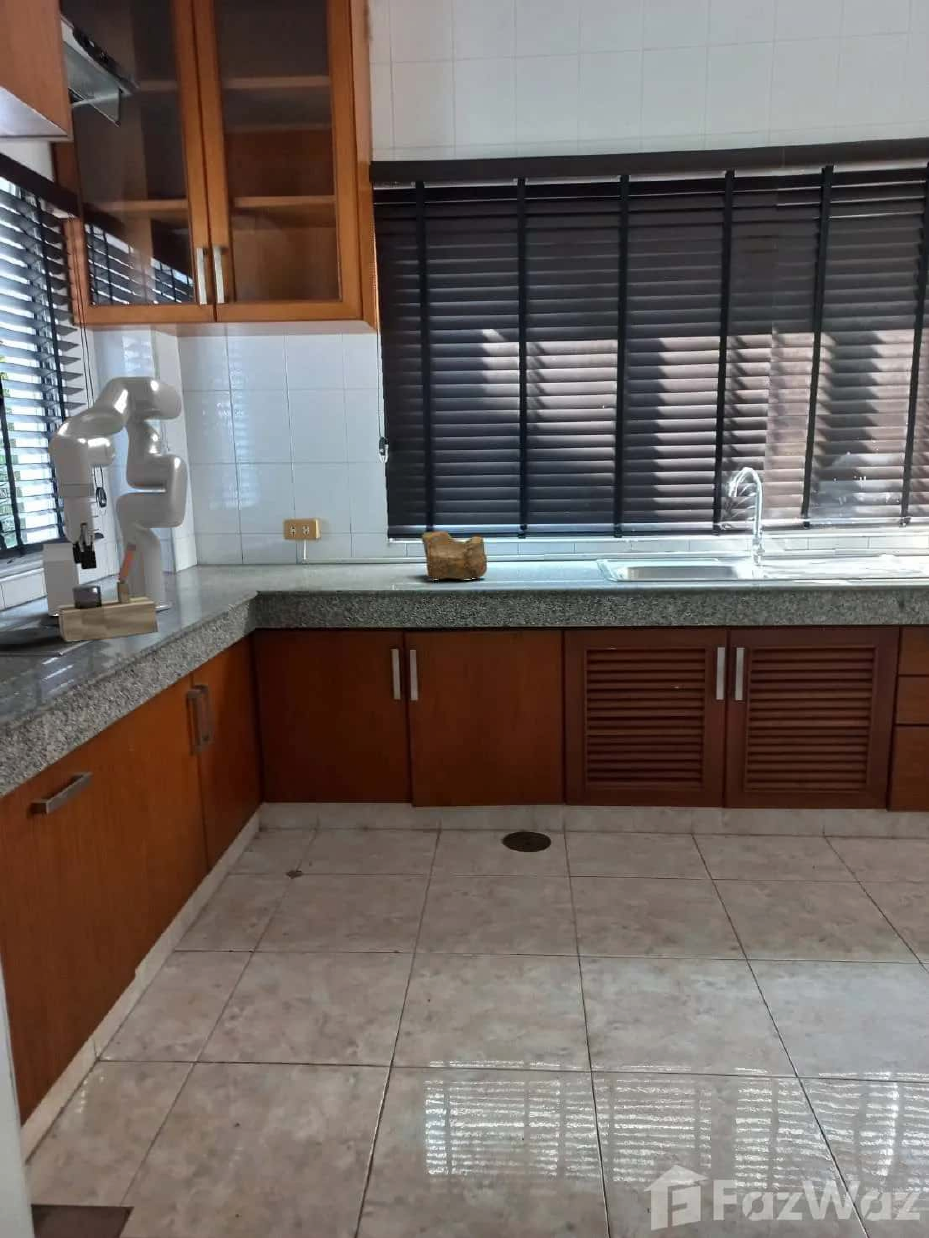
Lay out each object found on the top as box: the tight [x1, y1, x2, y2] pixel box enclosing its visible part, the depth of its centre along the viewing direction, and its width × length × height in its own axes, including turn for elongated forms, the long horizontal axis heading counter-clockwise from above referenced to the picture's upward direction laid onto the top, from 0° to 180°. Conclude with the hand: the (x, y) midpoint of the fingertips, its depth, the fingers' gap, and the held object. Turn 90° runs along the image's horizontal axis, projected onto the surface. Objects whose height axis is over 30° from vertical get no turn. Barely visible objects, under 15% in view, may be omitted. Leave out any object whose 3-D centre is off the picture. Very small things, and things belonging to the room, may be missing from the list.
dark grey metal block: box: [72, 584, 103, 609], centre depth 198 cm, size 6×6×11 cm
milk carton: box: [41, 542, 80, 616], centre depth 223 cm, size 7×7×19 cm
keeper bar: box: [117, 542, 137, 583], centre depth 201 cm, size 5×10×1 cm
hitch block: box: [58, 581, 159, 643], centre depth 200 cm, size 10×20×12 cm, turn 123°
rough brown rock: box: [421, 530, 488, 580], centre depth 272 cm, size 23×17×15 cm
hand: (85, 565), depth 196 cm, fingers open, 9 cm apart
